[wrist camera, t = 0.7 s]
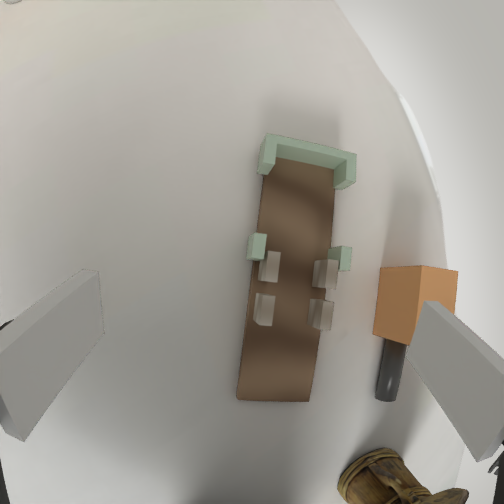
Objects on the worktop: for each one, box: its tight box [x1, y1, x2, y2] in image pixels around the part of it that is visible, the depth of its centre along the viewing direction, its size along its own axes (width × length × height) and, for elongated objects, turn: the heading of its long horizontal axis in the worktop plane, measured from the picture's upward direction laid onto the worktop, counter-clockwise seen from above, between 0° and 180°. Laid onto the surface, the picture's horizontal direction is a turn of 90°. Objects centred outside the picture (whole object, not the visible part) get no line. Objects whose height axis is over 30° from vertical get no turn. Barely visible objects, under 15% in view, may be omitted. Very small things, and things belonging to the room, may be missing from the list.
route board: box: [236, 157, 339, 402], centre depth 27 cm, size 24×7×4 cm, turn 173°
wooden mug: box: [337, 448, 469, 504], centre depth 20 cm, size 9×14×18 cm, turn 20°
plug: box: [373, 265, 458, 402], centre depth 27 cm, size 14×5×7 cm, turn 173°
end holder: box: [246, 133, 356, 271], centre depth 27 cm, size 11×9×3 cm
